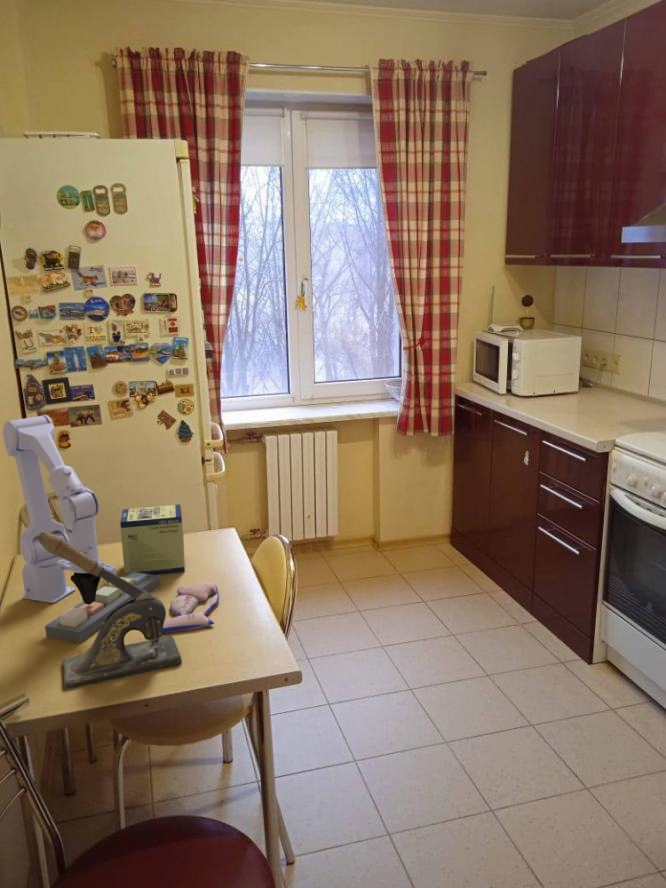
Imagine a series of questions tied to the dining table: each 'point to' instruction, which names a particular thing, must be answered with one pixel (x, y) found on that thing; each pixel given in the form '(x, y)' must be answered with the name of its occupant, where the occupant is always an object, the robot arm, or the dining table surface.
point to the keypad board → (96, 615)
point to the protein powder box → (153, 540)
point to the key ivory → (73, 617)
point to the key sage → (107, 595)
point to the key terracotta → (92, 608)
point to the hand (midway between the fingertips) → (89, 602)
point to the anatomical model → (191, 607)
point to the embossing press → (116, 629)
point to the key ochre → (120, 589)
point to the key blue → (137, 577)
